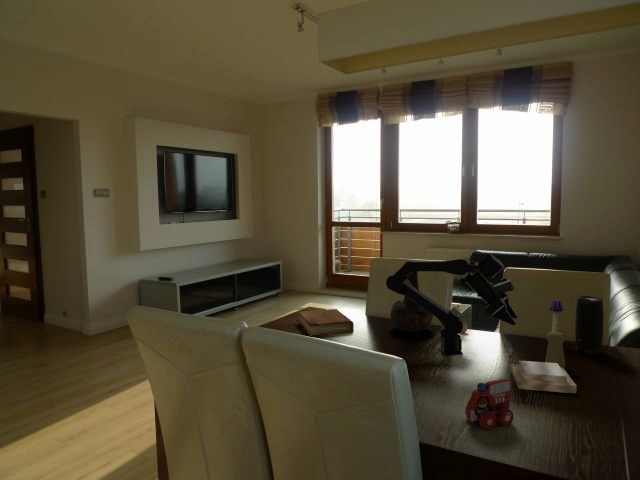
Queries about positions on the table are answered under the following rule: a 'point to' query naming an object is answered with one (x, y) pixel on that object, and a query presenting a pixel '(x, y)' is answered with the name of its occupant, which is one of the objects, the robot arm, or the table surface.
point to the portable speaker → (589, 324)
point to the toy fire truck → (490, 404)
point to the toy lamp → (555, 312)
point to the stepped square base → (542, 377)
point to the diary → (326, 322)
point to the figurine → (459, 312)
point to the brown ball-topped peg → (555, 349)
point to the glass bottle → (410, 312)
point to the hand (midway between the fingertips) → (515, 321)
